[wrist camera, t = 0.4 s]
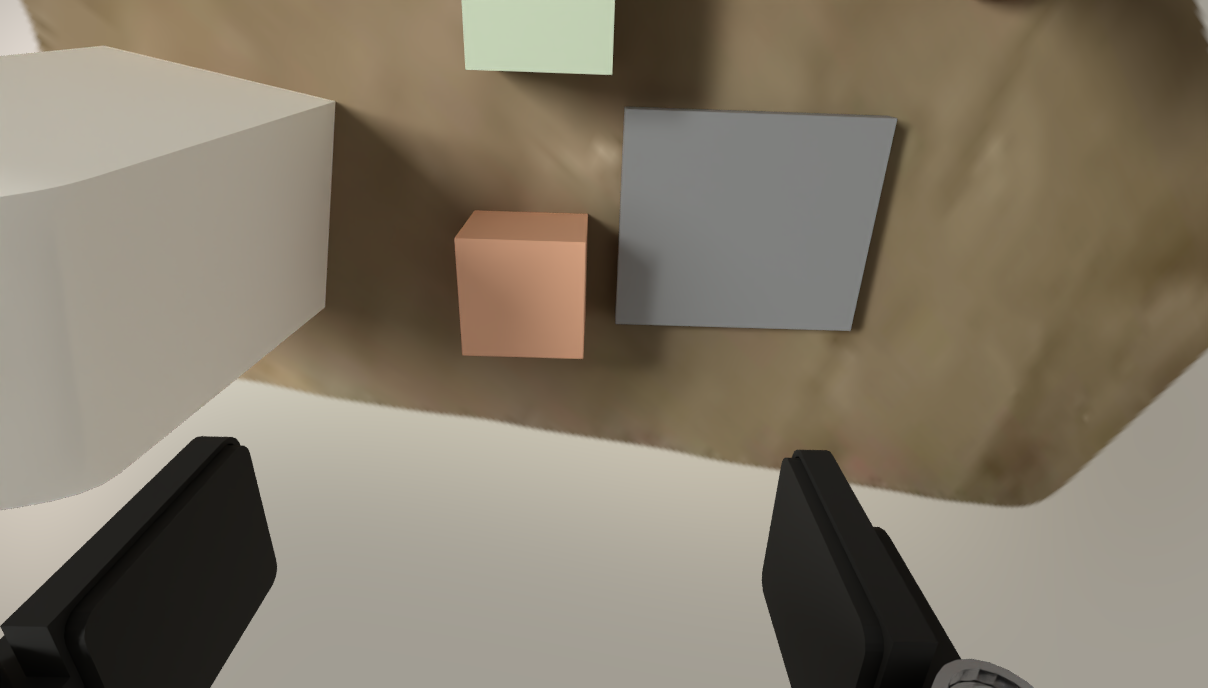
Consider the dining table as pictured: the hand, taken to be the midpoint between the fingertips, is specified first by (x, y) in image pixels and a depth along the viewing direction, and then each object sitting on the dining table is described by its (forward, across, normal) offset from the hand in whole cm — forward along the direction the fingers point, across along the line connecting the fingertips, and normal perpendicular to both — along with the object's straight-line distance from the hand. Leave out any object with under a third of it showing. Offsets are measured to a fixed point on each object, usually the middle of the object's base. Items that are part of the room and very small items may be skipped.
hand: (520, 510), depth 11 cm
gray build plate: (+27, -10, +1) cm, 29 cm away
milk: (+27, +20, 0) cm, 33 cm away
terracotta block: (+27, +2, +4) cm, 28 cm away
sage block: (+27, +1, -10) cm, 29 cm away
